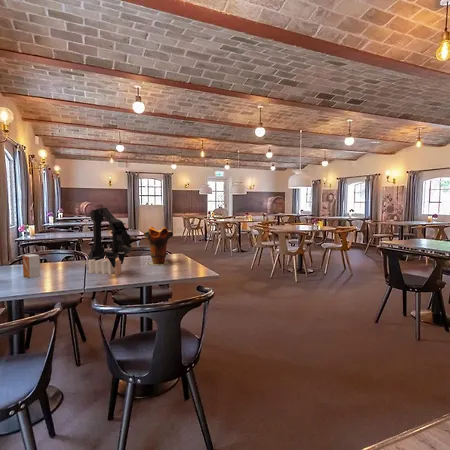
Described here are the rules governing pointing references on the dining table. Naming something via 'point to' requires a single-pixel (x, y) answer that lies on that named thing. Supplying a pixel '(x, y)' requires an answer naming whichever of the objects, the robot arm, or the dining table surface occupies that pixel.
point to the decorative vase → (158, 245)
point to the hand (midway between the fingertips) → (117, 265)
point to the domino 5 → (117, 267)
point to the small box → (31, 265)
